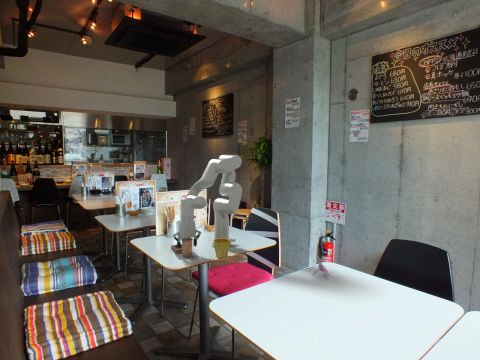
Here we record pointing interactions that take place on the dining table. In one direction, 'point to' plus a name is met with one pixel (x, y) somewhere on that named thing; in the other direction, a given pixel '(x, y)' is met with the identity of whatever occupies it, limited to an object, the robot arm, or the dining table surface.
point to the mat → (186, 257)
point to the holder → (176, 249)
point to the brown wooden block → (187, 247)
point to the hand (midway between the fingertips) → (187, 247)
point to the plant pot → (221, 247)
